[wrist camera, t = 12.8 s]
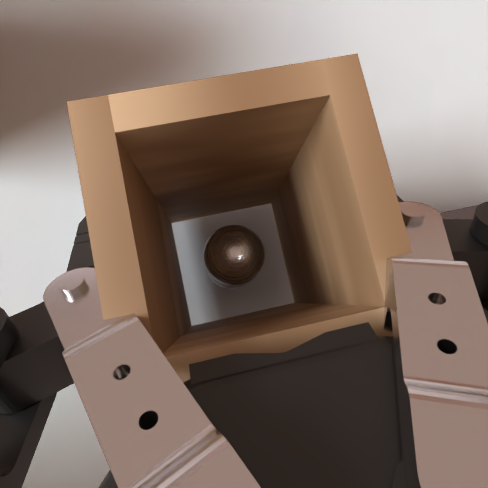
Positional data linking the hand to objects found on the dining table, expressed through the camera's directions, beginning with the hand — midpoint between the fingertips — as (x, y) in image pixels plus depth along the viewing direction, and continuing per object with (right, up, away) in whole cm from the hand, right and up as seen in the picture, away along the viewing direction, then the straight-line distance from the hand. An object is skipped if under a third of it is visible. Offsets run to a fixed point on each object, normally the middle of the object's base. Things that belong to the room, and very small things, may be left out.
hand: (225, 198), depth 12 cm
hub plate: (0, -3, +7) cm, 7 cm away
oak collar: (0, -2, +4) cm, 5 cm away
